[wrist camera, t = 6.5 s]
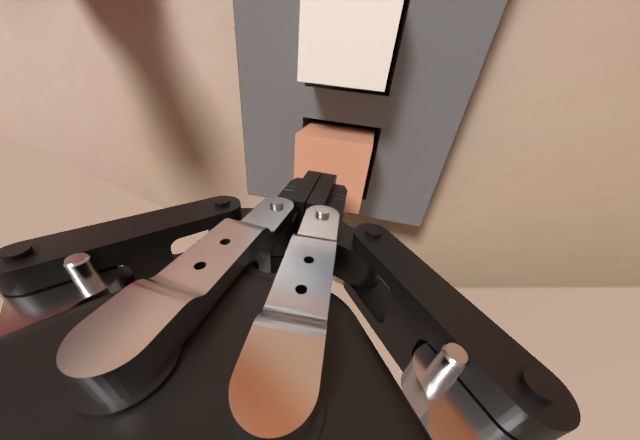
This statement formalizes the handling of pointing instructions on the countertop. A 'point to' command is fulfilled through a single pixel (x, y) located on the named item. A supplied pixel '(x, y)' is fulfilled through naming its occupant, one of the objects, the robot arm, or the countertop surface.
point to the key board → (364, 98)
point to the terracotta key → (336, 156)
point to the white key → (347, 42)
